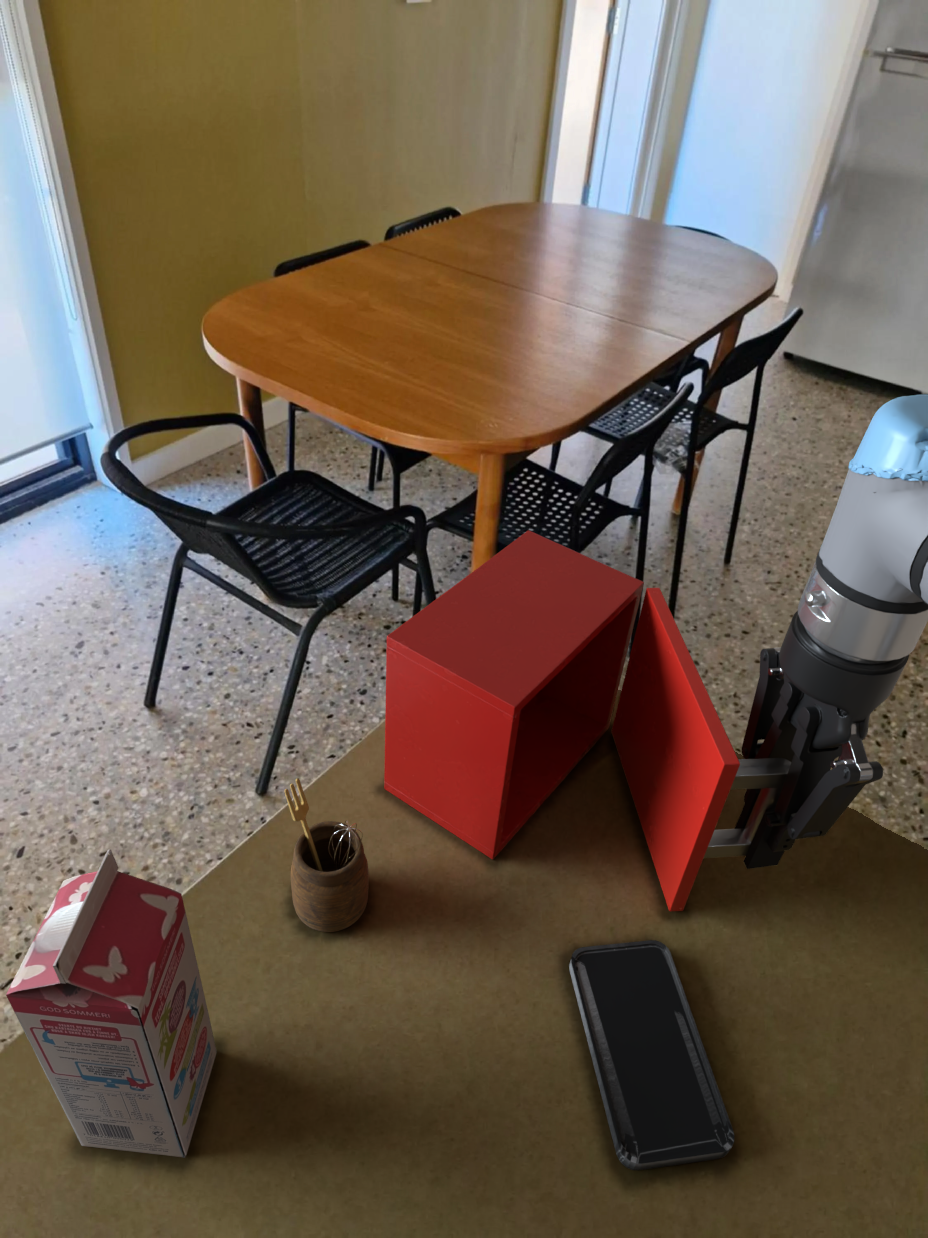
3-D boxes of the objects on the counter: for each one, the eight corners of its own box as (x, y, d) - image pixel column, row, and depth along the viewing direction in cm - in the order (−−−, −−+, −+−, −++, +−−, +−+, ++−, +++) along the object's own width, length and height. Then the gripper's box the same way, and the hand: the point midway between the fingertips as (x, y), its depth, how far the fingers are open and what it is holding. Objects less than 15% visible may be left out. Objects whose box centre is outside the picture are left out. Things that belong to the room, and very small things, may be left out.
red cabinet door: (684, 729, 88) (729, 586, 77) (757, 906, 73) (827, 760, 61) (610, 731, 87) (646, 587, 76) (669, 912, 72) (724, 764, 60)
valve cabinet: (609, 728, 87) (644, 581, 76) (492, 860, 74) (514, 707, 63) (508, 674, 93) (528, 529, 81) (383, 789, 80) (386, 636, 68)
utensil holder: (338, 949, 67) (334, 853, 60) (274, 908, 70) (262, 810, 62) (383, 893, 71) (385, 796, 64) (322, 856, 74) (316, 758, 66)
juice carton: (81, 1145, 56) (-13, 958, 42) (121, 1040, 61) (49, 843, 47) (185, 1157, 56) (125, 973, 42) (217, 1051, 61) (172, 856, 47)
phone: (624, 1166, 56) (568, 948, 67) (620, 1173, 57) (565, 956, 68) (741, 1149, 57) (667, 938, 68) (737, 1156, 58) (663, 946, 69)
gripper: (751, 567, 63) (677, 786, 78) (860, 714, 52) (751, 937, 67) (845, 562, 64) (756, 778, 79) (972, 703, 53) (840, 924, 68)
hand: (754, 850), depth 73 cm, fingers closed on red cabinet door, 2 cm apart
